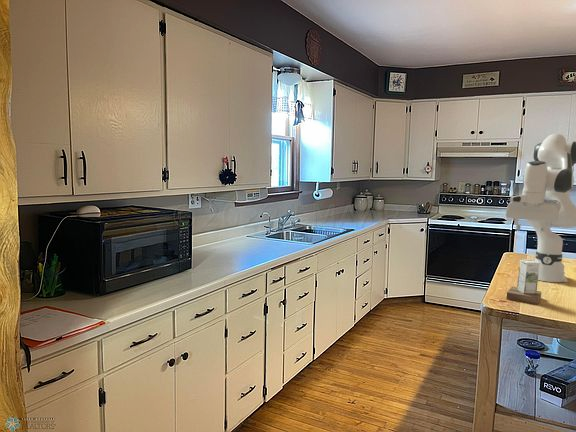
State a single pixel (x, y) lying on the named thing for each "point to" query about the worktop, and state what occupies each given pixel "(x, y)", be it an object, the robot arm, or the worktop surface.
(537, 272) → the syrup box
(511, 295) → the walnut base
